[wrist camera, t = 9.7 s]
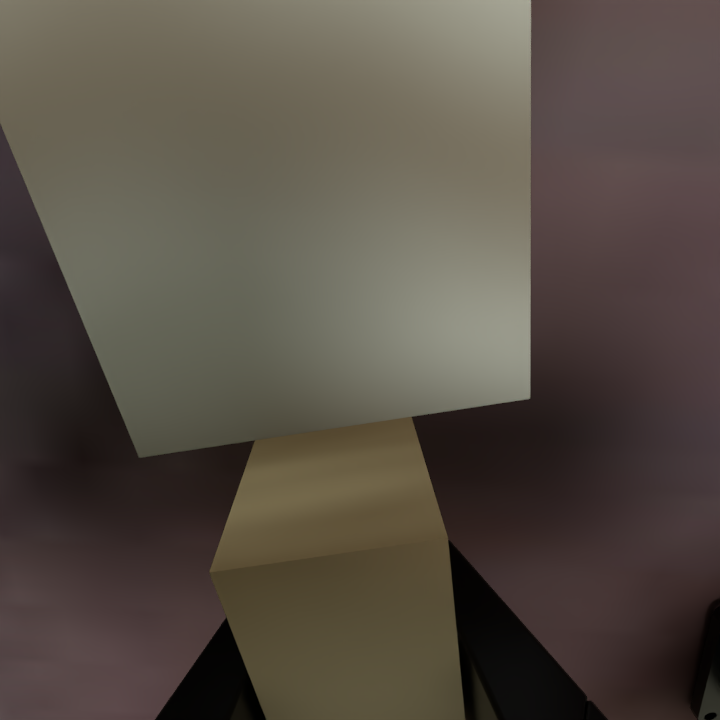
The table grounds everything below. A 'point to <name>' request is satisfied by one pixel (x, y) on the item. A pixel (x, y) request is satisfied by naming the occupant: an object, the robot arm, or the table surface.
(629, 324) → the table surface
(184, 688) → the robot arm
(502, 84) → the turner
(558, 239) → the table surface
